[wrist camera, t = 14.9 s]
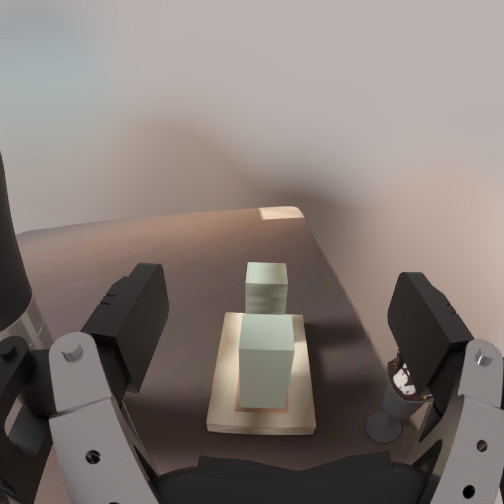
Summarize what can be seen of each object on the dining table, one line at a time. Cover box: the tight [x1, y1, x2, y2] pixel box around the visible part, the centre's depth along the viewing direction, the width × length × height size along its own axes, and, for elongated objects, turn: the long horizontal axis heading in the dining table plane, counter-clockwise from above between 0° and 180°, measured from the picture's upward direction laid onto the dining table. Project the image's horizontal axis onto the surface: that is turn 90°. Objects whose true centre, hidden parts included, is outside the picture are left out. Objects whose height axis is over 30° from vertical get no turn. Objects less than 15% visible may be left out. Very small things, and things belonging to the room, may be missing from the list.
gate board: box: [206, 262, 316, 435], centre depth 35 cm, size 12×20×12 cm, turn 177°
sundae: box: [365, 349, 433, 443], centre depth 25 cm, size 7×7×15 cm
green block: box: [239, 314, 295, 408], centre depth 30 cm, size 5×5×10 cm
